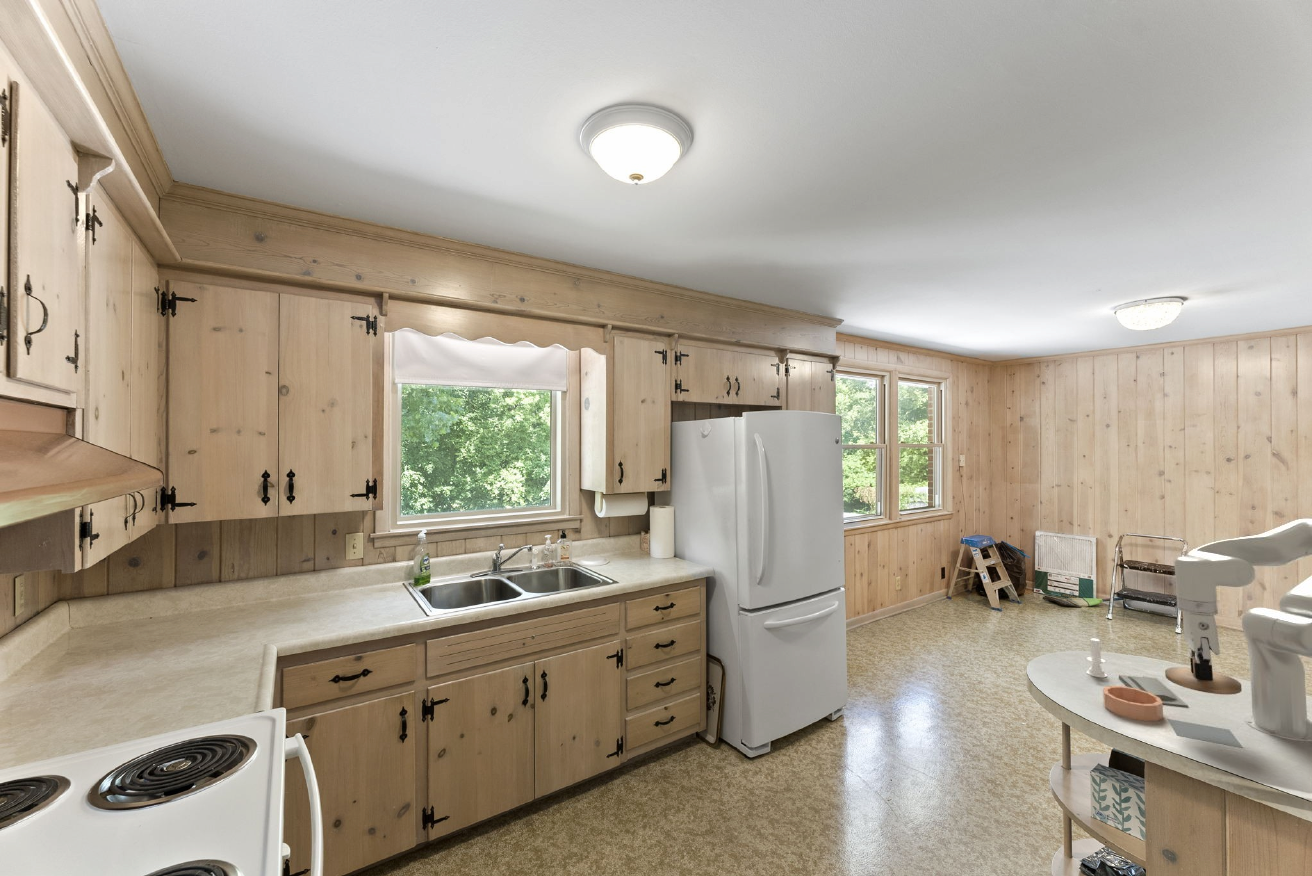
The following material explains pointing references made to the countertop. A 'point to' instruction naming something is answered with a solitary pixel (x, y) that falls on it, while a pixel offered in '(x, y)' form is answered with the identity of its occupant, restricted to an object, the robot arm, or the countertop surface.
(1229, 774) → the countertop surface
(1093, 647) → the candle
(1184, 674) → the lid
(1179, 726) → the mat
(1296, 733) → the robot arm
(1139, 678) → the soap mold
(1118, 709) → the bowl
